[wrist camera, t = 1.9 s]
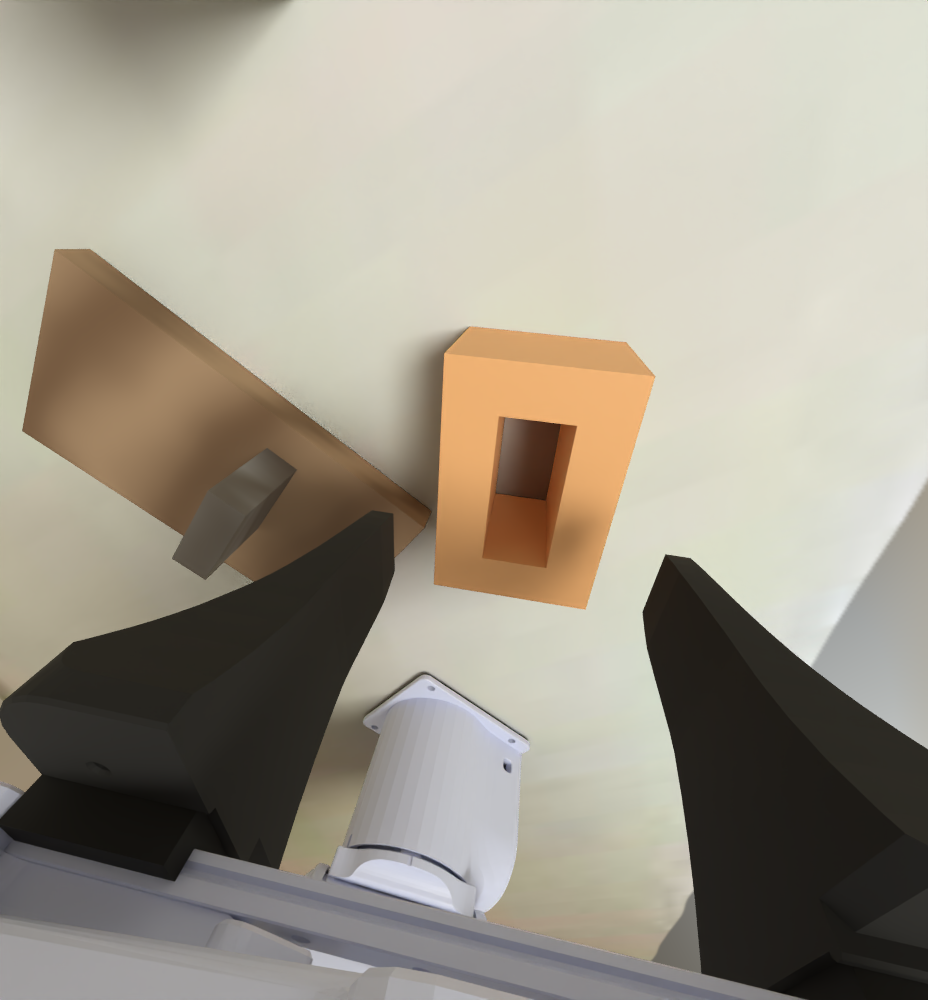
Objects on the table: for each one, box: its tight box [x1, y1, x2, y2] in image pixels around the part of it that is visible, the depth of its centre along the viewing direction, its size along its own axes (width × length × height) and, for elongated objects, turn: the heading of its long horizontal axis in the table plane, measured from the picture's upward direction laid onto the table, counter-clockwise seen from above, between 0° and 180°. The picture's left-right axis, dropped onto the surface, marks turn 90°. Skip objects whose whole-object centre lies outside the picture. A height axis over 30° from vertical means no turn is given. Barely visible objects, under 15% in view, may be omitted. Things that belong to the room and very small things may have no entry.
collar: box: [434, 327, 655, 609], centre depth 17 cm, size 6×9×5 cm, turn 176°
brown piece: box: [22, 249, 431, 582], centre depth 20 cm, size 18×10×6 cm, turn 51°
